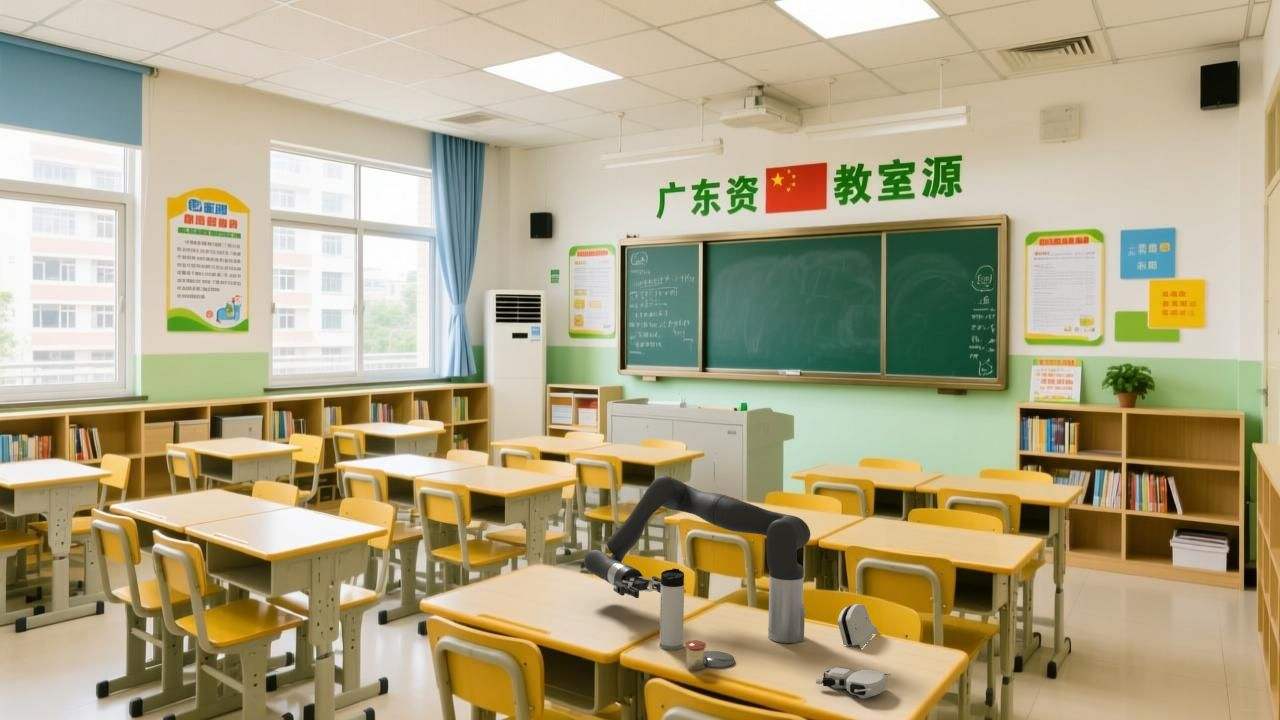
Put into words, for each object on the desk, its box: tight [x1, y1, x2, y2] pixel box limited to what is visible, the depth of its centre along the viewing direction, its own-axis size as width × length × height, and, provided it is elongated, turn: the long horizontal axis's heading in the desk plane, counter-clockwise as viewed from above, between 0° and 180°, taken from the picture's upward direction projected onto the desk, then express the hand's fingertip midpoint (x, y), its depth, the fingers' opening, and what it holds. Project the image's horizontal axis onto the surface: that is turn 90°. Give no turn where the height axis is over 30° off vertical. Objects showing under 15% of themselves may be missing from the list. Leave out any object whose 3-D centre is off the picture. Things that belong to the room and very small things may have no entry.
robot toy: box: [815, 666, 892, 700], centre depth 205 cm, size 12×4×15 cm
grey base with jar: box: [685, 639, 735, 671], centre depth 220 cm, size 16×10×6 cm, turn 138°
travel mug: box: [659, 568, 685, 651], centre depth 232 cm, size 6×7×20 cm
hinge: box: [837, 603, 879, 649], centre depth 241 cm, size 17×5×10 cm, turn 150°
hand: (651, 592), depth 242 cm, fingers open, 8 cm apart
